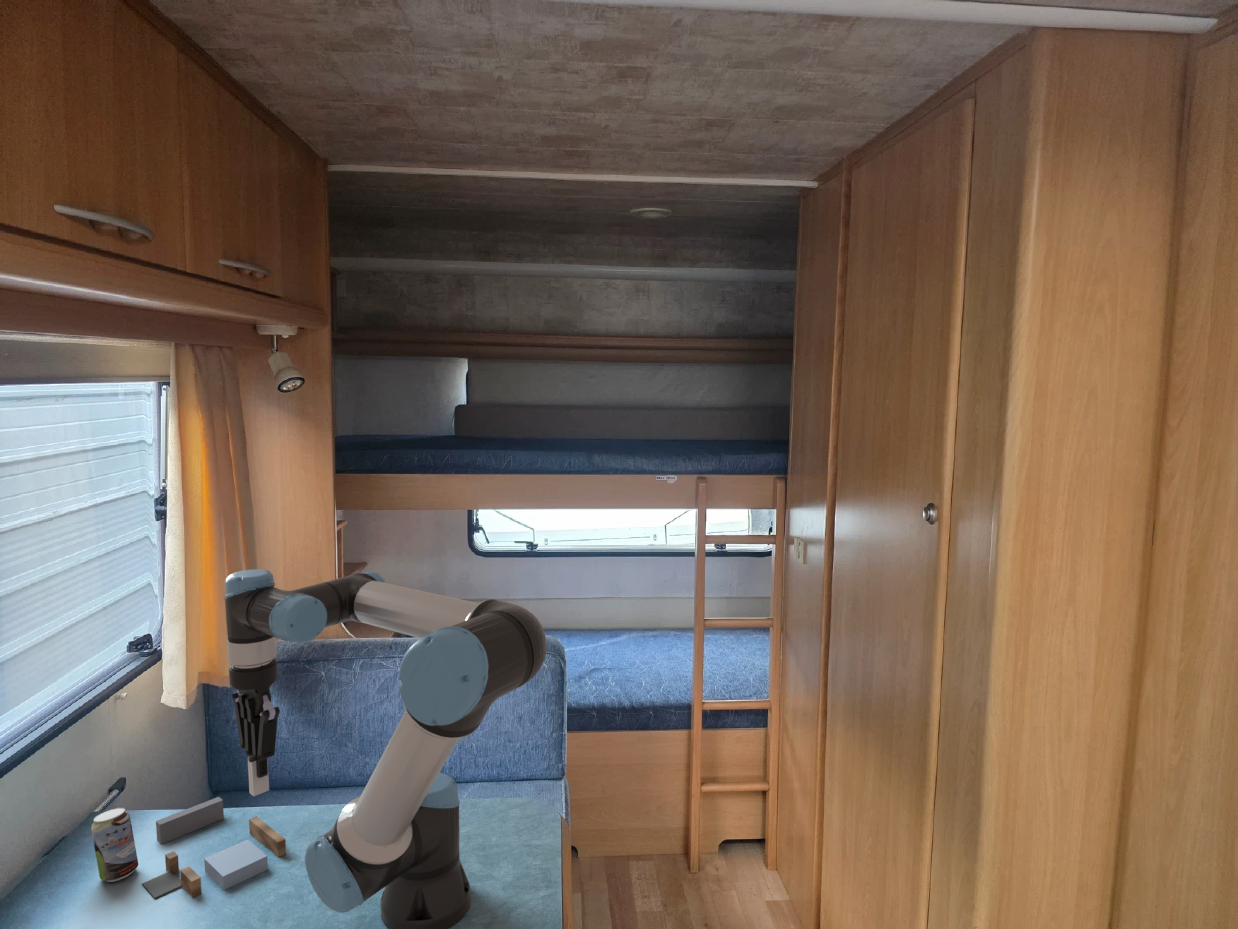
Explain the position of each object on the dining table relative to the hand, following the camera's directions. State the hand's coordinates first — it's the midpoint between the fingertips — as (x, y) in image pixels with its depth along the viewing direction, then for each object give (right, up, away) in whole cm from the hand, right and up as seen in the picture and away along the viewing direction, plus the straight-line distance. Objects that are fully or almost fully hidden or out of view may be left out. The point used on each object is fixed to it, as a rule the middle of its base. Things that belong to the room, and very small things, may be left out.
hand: (259, 791), depth 137 cm
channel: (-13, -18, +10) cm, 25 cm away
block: (-8, -19, +9) cm, 23 cm away
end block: (-24, -17, +22) cm, 37 cm away
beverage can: (-30, -19, +8) cm, 36 cm away
